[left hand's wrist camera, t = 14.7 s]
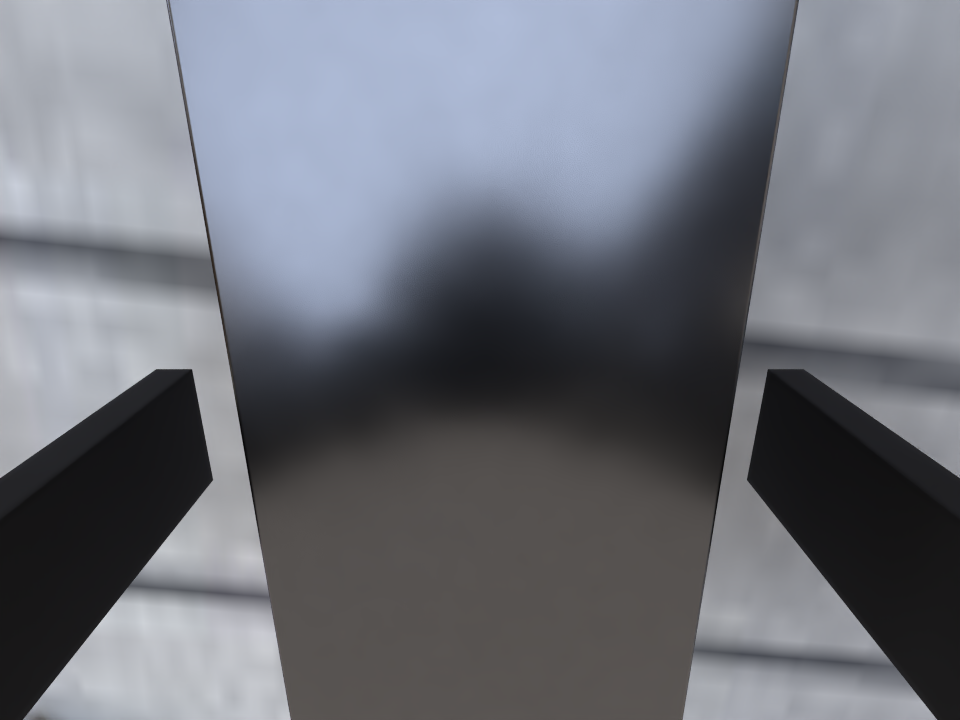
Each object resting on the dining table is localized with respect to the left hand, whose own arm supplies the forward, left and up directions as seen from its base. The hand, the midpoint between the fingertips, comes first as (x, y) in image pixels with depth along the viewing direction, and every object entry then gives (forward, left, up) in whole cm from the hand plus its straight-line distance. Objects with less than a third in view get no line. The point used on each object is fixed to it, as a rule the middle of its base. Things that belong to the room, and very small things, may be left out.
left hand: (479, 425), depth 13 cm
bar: (+6, -7, -4) cm, 10 cm away
